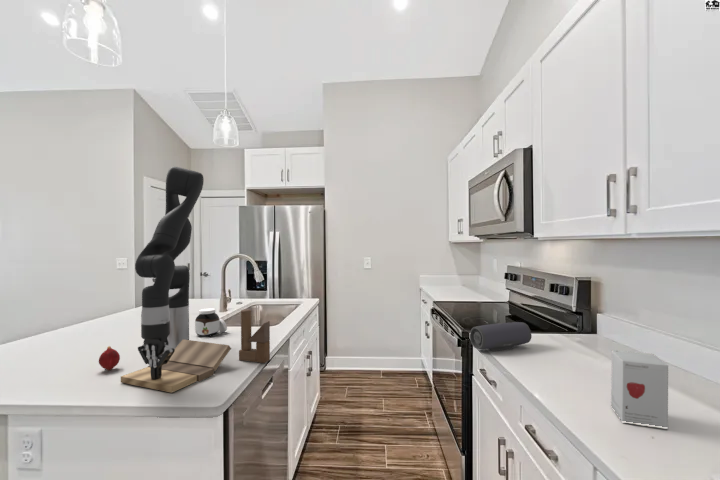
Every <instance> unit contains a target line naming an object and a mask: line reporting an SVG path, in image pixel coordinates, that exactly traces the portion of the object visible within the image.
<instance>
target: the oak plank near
mask: <svg viewBox="0 0 720 480" xmlns="http://www.w3.org/2000/svg"><path fill="white" fill-rule="evenodd" d="M196 382H198V381H197V375H191V374H185V373H180V372H174V371H168V370H162V375H161V378H159V379H156V380H153V379H151V367H148V366H147V367H144V368H141V369H138V370H135V371H133V372H129V373H127V374H125V375H121V376H120V383H121V384H127V385H132V386H137V387H142V388H147V389H152V390H157V391H162V392H167V393H174V392H177V391H179V390H181V389H183V388H186V387H188V386H190V385H192V384H194V383H196Z"/></svg>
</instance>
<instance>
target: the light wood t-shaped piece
mask: <svg viewBox="0 0 720 480" xmlns="http://www.w3.org/2000/svg"><path fill="white" fill-rule="evenodd" d="M270 323H271V322H270V321H266V322H264V323H263V324H262V325H260V327H259V328H258V329H257V330H256V332H254V334H252V310H251V309H249V308H246V309H241V310H240V346H241V347H240V349H239V350H238V360H239V361H243V362H250V363H251V362H254V363H261V364H266V363H267V362H269V361H270V360H271V357H270V356H271V348H270V347H271V346H270V344H271V343H270V340H271V339H270V337H271V336H270V334H271V333H270V332H271V331H270V328H271V327H270ZM252 343H255V348H252Z"/></svg>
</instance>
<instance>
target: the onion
mask: <svg viewBox="0 0 720 480" xmlns="http://www.w3.org/2000/svg"><path fill="white" fill-rule="evenodd" d="M120 359H121V355H120V353H119V352H118V351H117V350H116V349H113V348H112V347H111V346H110V345H109V346H107V348H106V350H104V351H103V352H102V353H101V354H100V356H99V359H98V365H100V367H101V368H103V369H104V370H107V371H111V370H112V369H114V368H115V367H116V366H118V364H119V362H120Z"/></svg>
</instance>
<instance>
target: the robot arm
mask: <svg viewBox="0 0 720 480" xmlns="http://www.w3.org/2000/svg"><path fill="white" fill-rule="evenodd" d="M203 186H204V175H203V174H202V173H201V172H198V171H195V170H191V169H188V168H184V167H180V166H174V165H173V166H171V167H170V168H169V169H168V171H167V174H166V178H165V214H164V216H163V217H161V219H160V220H159V221H158V223H157V225H156V227H155V230H154V233H153V235H152V237H151V240H149V242H148V243H147V244H146V246H145V247H144V248H143V249H142V251H141V252H140V253H139V254H138V257H137V258H136V260H135V263H134V269H135V273H136V274H137V276H139V277H141V278H146V279H147V278H148V279H149V278H151V279H152V278H153V279H155V280H154V282H153V284H152V285H148V286H145V287H144V288H142V291H141V314H140V327H141V329H140V333H141V334H140V336H141V339H143V343H142V345H139V346H138V347H137V351H138V353H139V355H140V356H141V358H142V360H143V362H144V364H145V365H148V366H150V367H151V379H153V380H156V379H159V378H161V375H162V365H164V364H167V363H168V361H169V359H170V358H171V356H172V355H173V353H174V351H175V348H176V347H177V346H178V344H179V343H180V342H181V341H182V340H183V339H184V340H190V276H191V275H190V273H191V272H190V269H189V267H188V265H183V264H181V265H176V264H175V260H176V259H177V258H178V257H179V256H180V255H181V254H182V253H183V252H184V251H185V250H186V249H187V248H188V246H189V244H190V243H191V237H192V230H193V228H192V227H193V226H192V223H191V221H190V219H189V216H190V214H191V213H192V211H193V209H194V207H195V205H196V203H197V201H198V200H199V198H200V196H201V193H202V190H203V188H204V187H203ZM179 196H183V197H185V198H184V200H183V201H182V202H181V201H180V198H179ZM170 290H178V291H177V292H176V293H175V294H173V295H172V296H170V295H169V292H170Z"/></svg>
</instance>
